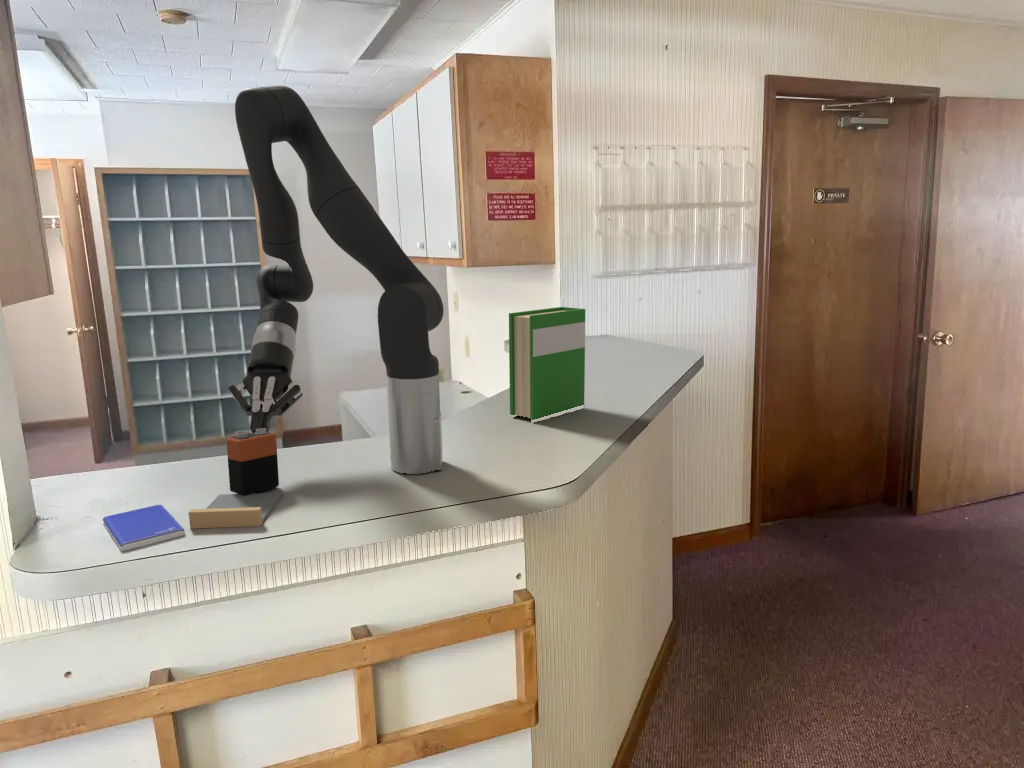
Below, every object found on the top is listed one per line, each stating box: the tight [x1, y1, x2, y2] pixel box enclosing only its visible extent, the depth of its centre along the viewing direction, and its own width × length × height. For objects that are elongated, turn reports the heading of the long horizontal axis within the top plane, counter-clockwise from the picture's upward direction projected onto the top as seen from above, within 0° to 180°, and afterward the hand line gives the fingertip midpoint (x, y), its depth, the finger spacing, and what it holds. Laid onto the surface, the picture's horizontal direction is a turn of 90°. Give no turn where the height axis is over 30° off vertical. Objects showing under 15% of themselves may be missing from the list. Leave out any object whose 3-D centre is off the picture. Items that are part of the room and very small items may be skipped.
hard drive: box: [102, 504, 186, 552], centre depth 102 cm, size 2×8×12 cm
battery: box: [226, 428, 280, 495], centre depth 116 cm, size 4×7×10 cm, turn 143°
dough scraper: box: [188, 492, 283, 529], centre depth 108 cm, size 10×12×2 cm
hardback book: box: [508, 306, 586, 420], centre depth 162 cm, size 18×7×24 cm, turn 135°
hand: (258, 434), depth 120 cm, fingers closed
